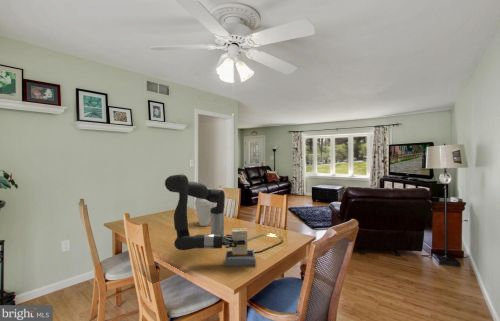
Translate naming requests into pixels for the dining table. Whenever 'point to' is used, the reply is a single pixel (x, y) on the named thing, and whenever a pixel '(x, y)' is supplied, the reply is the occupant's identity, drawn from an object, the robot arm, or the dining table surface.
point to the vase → (203, 210)
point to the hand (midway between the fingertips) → (244, 240)
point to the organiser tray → (240, 259)
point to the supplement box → (239, 235)
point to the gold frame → (265, 235)
